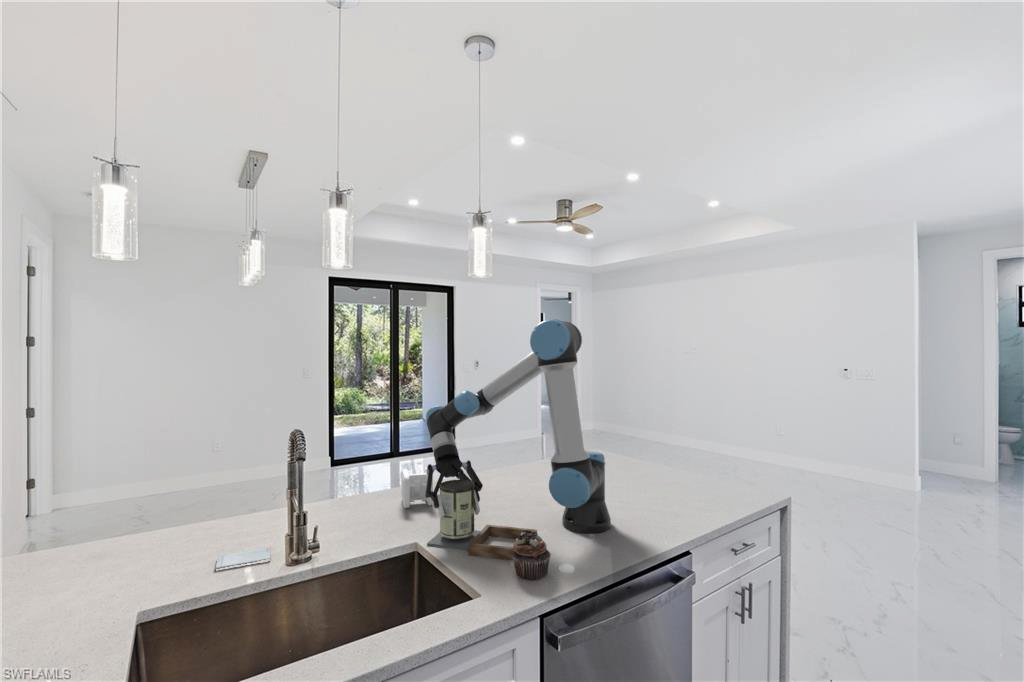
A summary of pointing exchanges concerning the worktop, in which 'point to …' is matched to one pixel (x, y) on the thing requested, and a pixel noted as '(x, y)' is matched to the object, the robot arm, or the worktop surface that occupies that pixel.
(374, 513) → the worktop surface
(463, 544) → the rubber pad
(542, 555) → the cupcake
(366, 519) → the worktop surface
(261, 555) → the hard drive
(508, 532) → the walnut collar
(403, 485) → the cable organizer
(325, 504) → the worktop surface
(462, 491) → the coffee can
